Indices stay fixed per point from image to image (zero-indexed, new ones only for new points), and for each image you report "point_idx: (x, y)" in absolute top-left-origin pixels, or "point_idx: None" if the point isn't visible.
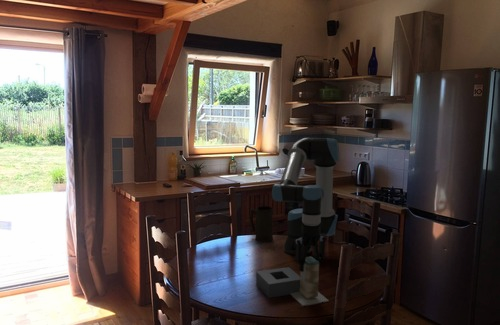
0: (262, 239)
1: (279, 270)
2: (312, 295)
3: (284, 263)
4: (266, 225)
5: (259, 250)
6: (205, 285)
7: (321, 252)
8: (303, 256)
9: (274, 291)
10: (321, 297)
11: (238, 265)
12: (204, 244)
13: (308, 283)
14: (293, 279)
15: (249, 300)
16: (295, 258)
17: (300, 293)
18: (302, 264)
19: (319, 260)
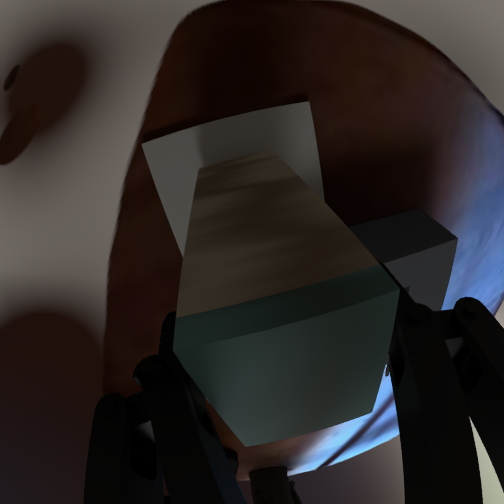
0: (276, 472)
1: None
2: (237, 160)
3: None
4: (273, 500)
5: (297, 450)
6: (495, 294)
7: (127, 496)
8: (459, 394)
9: (412, 225)
10: (174, 178)
11: (383, 396)
12: (388, 438)
13: (289, 176)
14: None
15: (470, 200)
16: (475, 363)
17: None
18: (415, 303)
19: (159, 391)
